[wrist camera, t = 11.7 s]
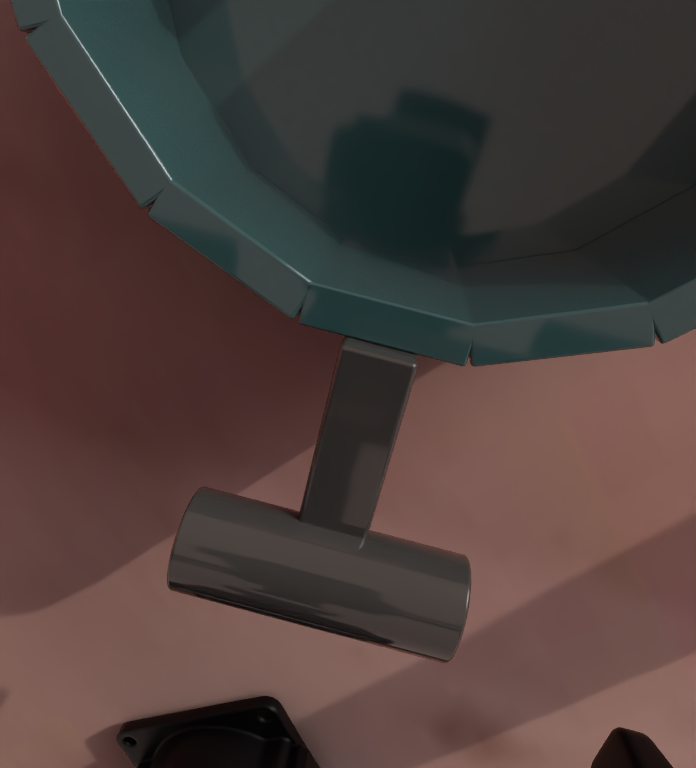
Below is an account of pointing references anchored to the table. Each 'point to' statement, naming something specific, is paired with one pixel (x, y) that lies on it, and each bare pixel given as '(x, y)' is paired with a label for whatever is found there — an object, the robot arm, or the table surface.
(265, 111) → the saucepan
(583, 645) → the table surface
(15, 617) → the table surface
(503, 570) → the table surface
